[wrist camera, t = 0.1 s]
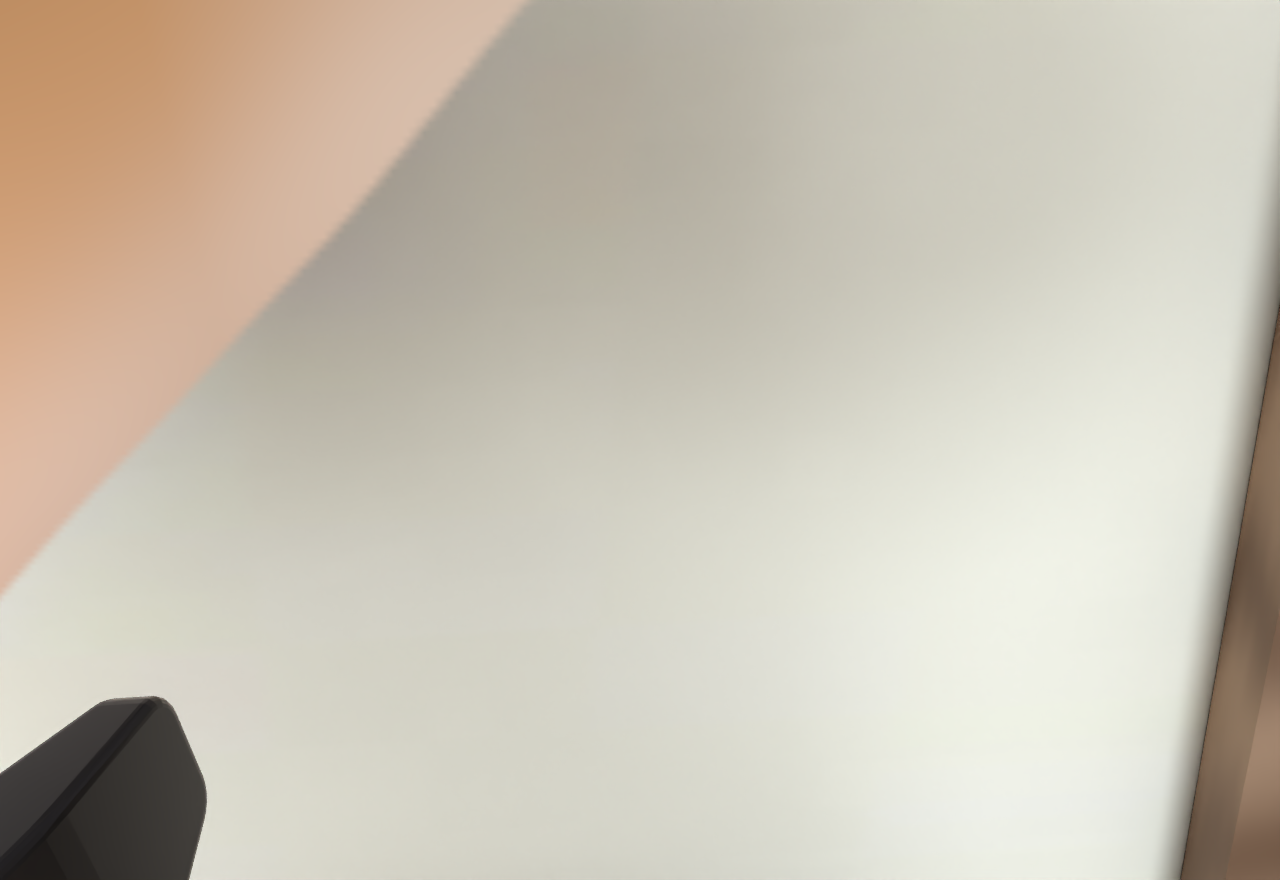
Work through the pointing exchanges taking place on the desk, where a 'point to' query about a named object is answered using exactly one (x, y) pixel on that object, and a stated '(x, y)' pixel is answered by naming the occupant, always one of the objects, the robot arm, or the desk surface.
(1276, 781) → the button panel
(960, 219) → the desk surface
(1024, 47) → the desk surface
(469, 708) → the desk surface
